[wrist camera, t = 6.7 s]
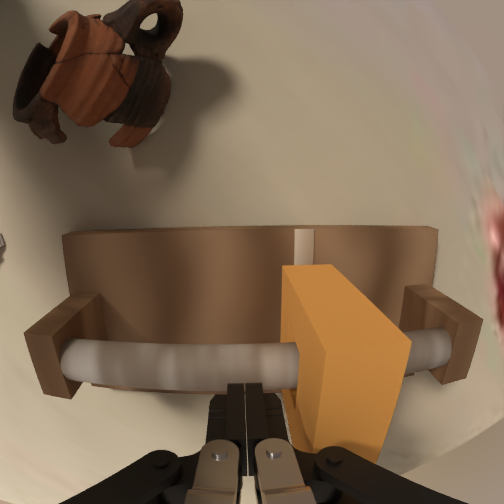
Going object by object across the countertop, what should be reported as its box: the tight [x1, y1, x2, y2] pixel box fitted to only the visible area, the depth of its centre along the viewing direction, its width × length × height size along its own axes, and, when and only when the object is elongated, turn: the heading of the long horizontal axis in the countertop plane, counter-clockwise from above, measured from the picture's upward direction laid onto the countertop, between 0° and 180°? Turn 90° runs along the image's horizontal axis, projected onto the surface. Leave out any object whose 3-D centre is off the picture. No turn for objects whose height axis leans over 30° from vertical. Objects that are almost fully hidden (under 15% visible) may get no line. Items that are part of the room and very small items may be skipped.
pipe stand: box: [24, 225, 483, 399], centre depth 18 cm, size 26×12×8 cm, turn 91°
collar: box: [280, 264, 412, 464], centre depth 15 cm, size 3×8×10 cm, turn 1°
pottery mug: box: [13, 0, 183, 148], centre depth 16 cm, size 12×10×8 cm
